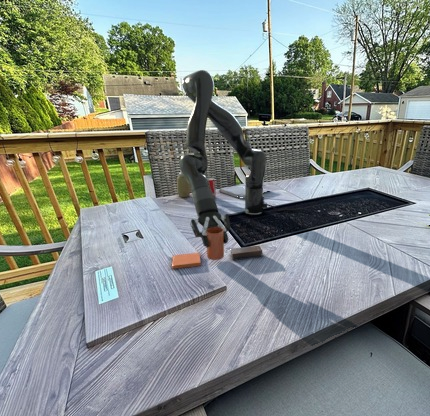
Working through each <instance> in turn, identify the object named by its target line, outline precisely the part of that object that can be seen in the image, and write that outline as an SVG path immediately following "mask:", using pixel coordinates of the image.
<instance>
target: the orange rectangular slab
mask: <svg viewBox="0 0 430 416" xmlns="http://www.w3.org/2000/svg"><path fill="white" fill-rule="evenodd" d="M201 265H202V262H201V255H200V252H192V253H183V254H174V255H173V254H172V269H173V270H175V269H182V268H190V267H198V266H199V267H201Z"/></svg>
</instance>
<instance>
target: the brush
mask: <svg viewBox="0 0 430 416" xmlns="http://www.w3.org/2000/svg"><path fill="white" fill-rule="evenodd" d="M262 255H263V248H261V246H260V245H250V246H243V247H234V248H230V256H231V258H232V261H237V260H239V261H240V260H246V259H254V258H262Z"/></svg>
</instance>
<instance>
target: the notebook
mask: <svg viewBox="0 0 430 416" xmlns="http://www.w3.org/2000/svg"><path fill="white" fill-rule="evenodd" d="M238 186H245V183H242V184H241V183H240V184H237V185H232V186H227V187H226V186H225V187H222V188H219V192H220V193H222V194H224V195H228V196H230V197H233V198H236V199H238V200H245V189H244V188H243V187H238ZM237 196H238V197H237ZM240 197H243V198H240Z"/></svg>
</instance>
